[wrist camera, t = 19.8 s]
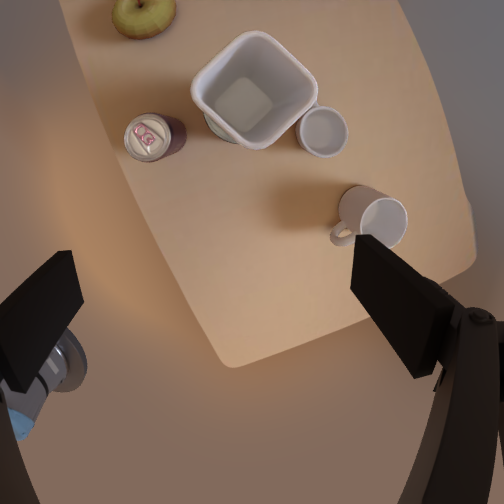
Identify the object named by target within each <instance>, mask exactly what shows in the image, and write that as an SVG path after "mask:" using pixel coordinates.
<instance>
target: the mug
mask: <svg viewBox="0 0 504 504" xmlns="http://www.w3.org/2000/svg"><path fill="white" fill-rule="evenodd" d="M339 217H340V219H341V221H340V222H339V223H338V224H337V225H335V227H334V228H333V229H332V231H331V233H330V240H331V242H332V243H333V244H334V245H336V246H347V245H351V244H353V243H355V236H356V235H361V234H371V235H372V236H373V237H375V238H376V239H377V240H379V241H380V242H381V243H382V244H384V245H385V246H386V247H387V248H389V249H390V248H392V247H394V246H395V245H397V244H398V243H399V242H400V241H401V239H402V238H403V236H404V234H405V232H406V229H407V224H408V217H407V213H406V210H405V208H404V206H403V205H402V204H401V203H400V202H399V201H398V200H396V199H394V198H392V197H390V196H388V195H386V194H383V193H381V192H379V191H377V190H375V189H372V188H370V187H367V186H356V187H353V188H351V189H349V190H348V191H347V192H346V193H345V194H344V195H343V197H342V198H341V200H340V203H339ZM345 228H348V229H349V230H350V231H351V232H352V233H351V234H349V235H348V236H345V237H342V238H339V237H338V234H339V233H340V232H341V231H342V230H344V229H345Z"/></svg>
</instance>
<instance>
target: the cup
mask: <svg viewBox="0 0 504 504" xmlns="http://www.w3.org/2000/svg"><path fill="white" fill-rule="evenodd" d="M190 92H191V97H192V100H193V101H194V102H195V104H196V105H197V106H198V107H199V108H200V109H201V110H202V111H203V112H204V113H205V114H206V115H207V116H209V117H210V118H211V119H212V120H213V121H214V122H215V123H216V124H217V125H218V126H220V127H221V128H222V129H223V130H224V131H225V132H226V133H227V134H228V135H229V136H230V137H232V138H233V139H234V140H235V141H236V142H237V143H239V144H240V145H242V146H243V147H245V148H247V149H253V150H259V149H264V148H267V147H268V146H270V145H271V144H273V143H274V142H275V141H276V140H277V139H278V138H279V137H280V136H281V135H282V134H283V133H284V132H285V131H286V130H287V129H288V128H289V127H290V126H292V125H293V124H294V123H295V122H296V121H297V120H298V119H299V118H300V117H301V116H302V115H303V114H304V113H305V112H306V111H307V110H308V109H309V108H311V107H312V105H313V104H314V102H315V101H316V100H317V95H318V86H317V81H316V80H315V78H314V77H313V75H312V74H311V73H310V72H309V71H308V70H307V69H306V68H305V67H304V66H303V65H302V64H301V63H300V62H299V61H298V60H297V59H296V58H295V57H294V56H293V55H292V54H291V53H290V52H288V51H287V50H286V49H285V48H284V47H283V46H282V45H281V44H280V43H279V42H278V41H276V40H275V39H274V38H273V37H272V36H270V35H268V34H267V33H265V32H261V31H256V30H253V31H246V32H244V33H242V34H240V35H238V36H237V37H235V38H234V39H233V40H232V41H231V42H230V43H229V44H227V45H226V46H225V47H224V48H223V49H222V50H221V51H220V52H219V53H218V54H216V55H215V56H214V57H213V58H212V59H211V60H210V61H209V62H208V63H207V64H206V65H205V66H204V67H203V68H202V69H201V70H199V71H198V72H197V74H196V75H195V77H194V78H193V80H192V82H191V87H190Z"/></svg>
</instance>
